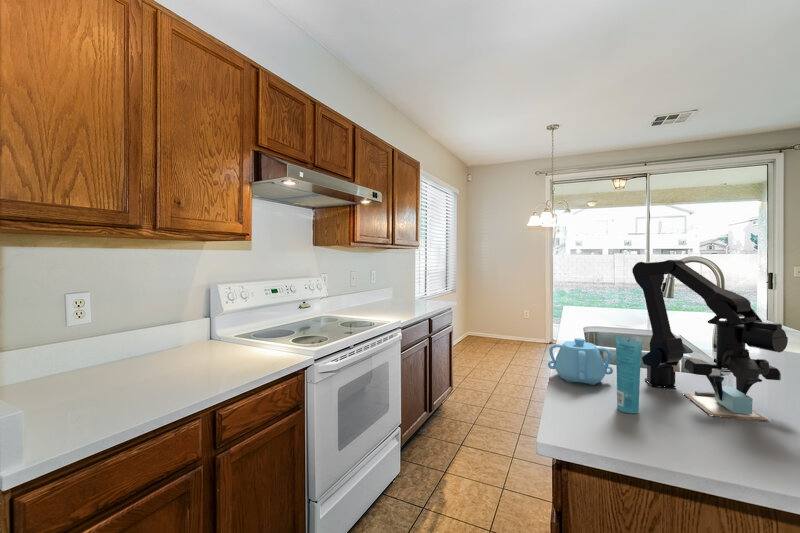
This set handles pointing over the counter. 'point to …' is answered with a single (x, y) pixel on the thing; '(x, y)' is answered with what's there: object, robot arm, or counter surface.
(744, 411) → the light blue block
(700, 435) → the counter surface
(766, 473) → the counter surface
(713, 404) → the clipboard
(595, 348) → the decorative pot
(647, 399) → the counter surface
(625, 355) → the tube
